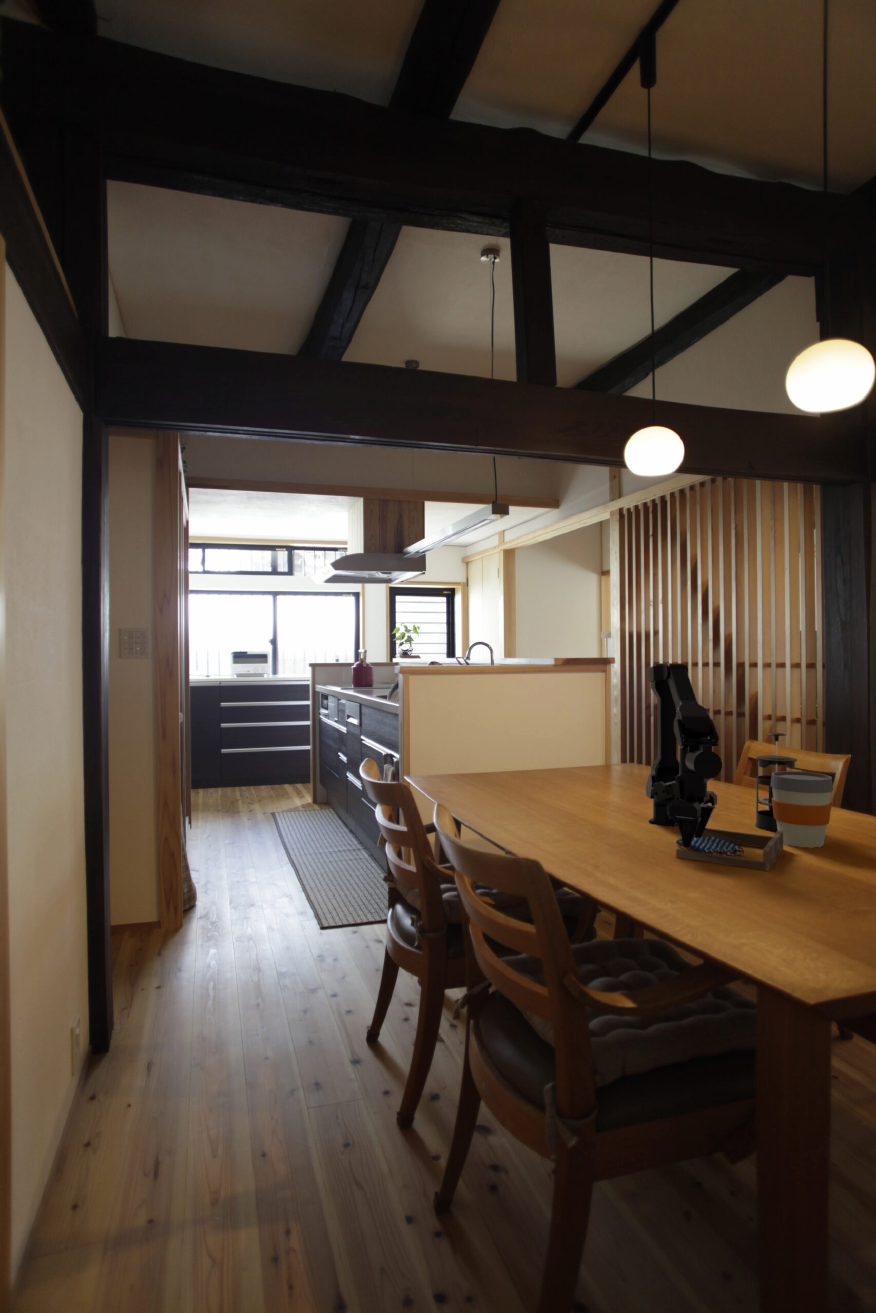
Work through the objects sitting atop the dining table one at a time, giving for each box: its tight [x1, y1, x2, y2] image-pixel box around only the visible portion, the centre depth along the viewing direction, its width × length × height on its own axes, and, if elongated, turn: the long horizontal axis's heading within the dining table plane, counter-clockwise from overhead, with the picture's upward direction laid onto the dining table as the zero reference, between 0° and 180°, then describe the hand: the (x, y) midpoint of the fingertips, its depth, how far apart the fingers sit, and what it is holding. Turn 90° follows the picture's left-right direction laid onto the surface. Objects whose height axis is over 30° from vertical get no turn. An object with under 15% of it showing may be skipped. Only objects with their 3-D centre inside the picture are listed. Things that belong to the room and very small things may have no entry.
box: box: [676, 827, 784, 872], centre depth 153 cm, size 19×18×4 cm
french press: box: [754, 732, 798, 832], centre depth 177 cm, size 12×9×23 cm
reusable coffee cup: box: [770, 770, 834, 849], centre depth 162 cm, size 13×13×15 cm
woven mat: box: [675, 836, 745, 857], centre depth 155 cm, size 10×11×2 cm
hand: (692, 842), depth 157 cm, fingers open, 9 cm apart
